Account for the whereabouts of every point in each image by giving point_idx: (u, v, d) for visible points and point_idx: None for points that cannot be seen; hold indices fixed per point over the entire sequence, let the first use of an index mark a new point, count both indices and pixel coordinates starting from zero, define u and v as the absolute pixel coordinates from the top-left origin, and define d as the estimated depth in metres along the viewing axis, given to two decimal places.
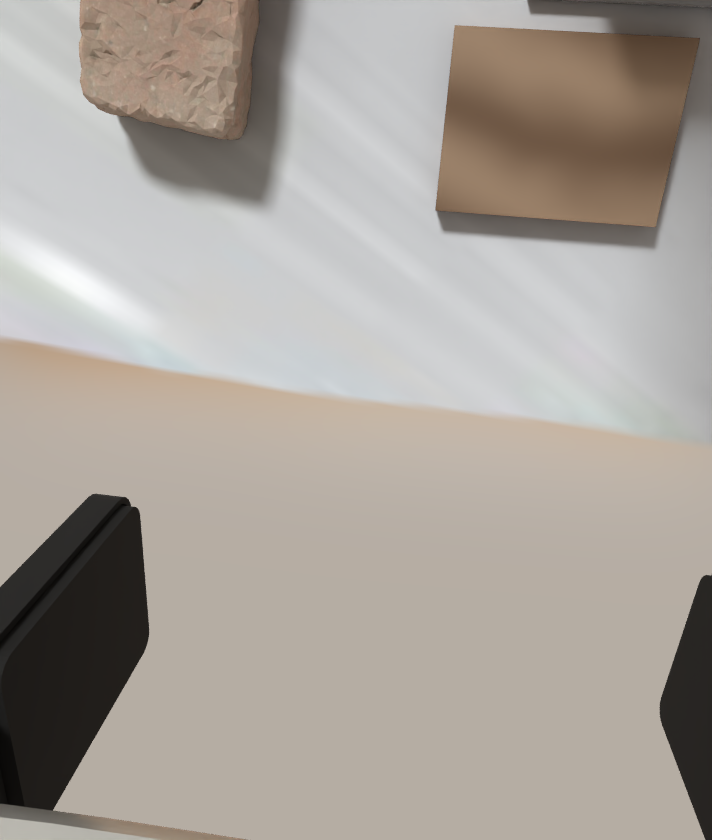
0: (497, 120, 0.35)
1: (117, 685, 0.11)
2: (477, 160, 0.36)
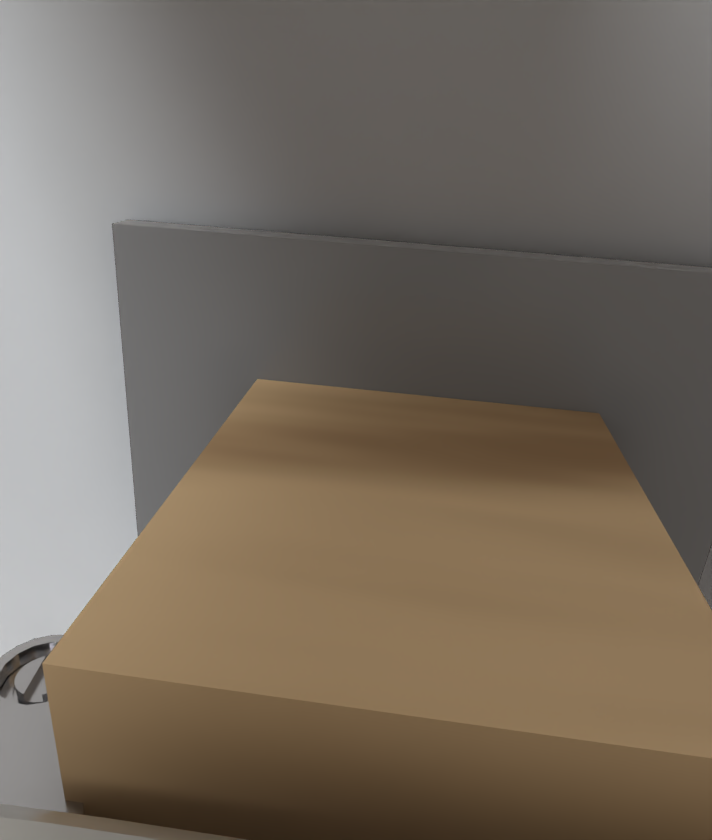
0: None
1: None
2: None
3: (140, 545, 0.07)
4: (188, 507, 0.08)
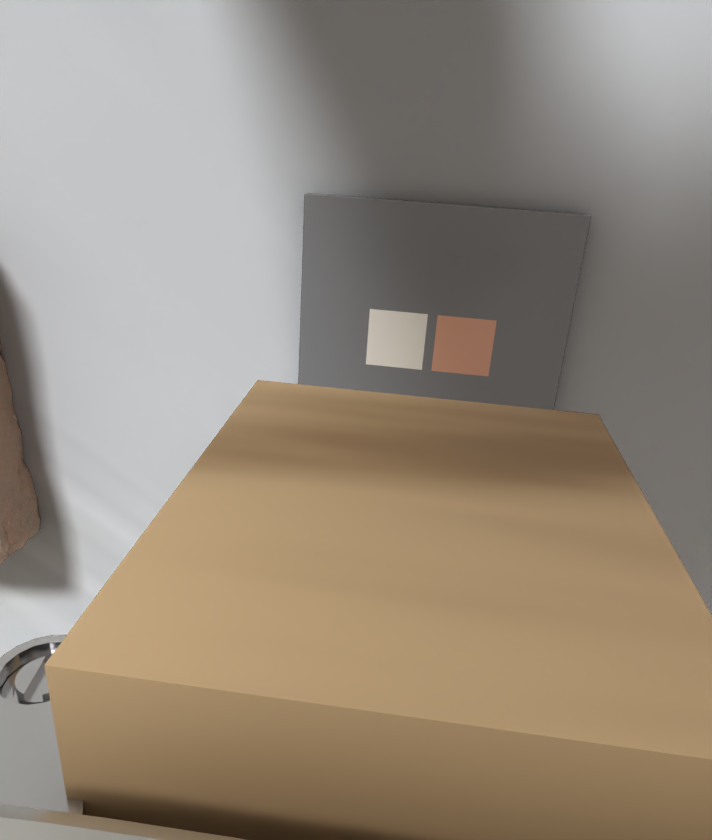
0: None
1: None
2: None
3: (141, 547, 0.07)
4: (189, 509, 0.08)
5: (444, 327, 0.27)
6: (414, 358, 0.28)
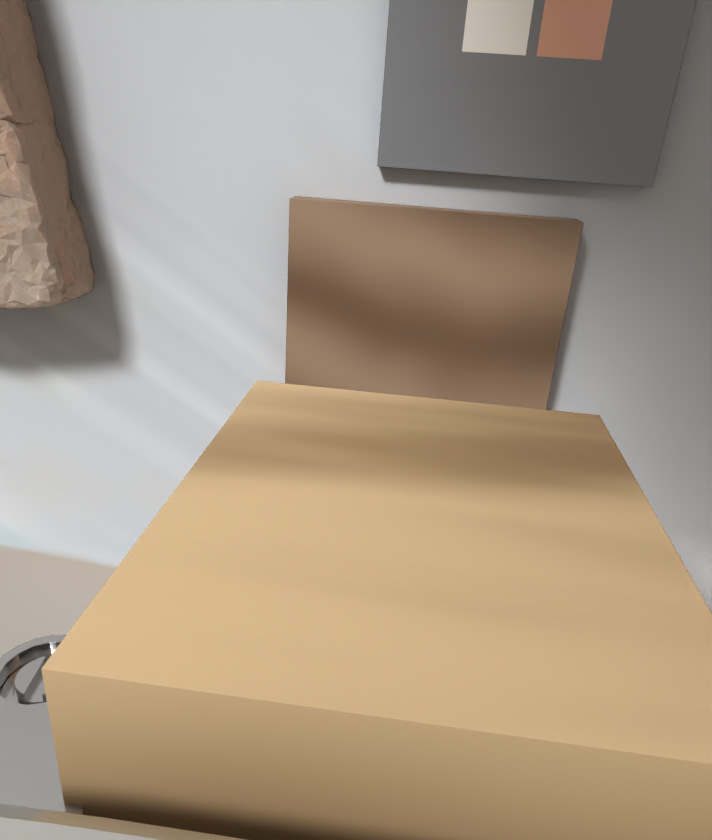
0: (348, 304, 0.29)
1: None
2: (329, 347, 0.30)
3: (139, 549, 0.07)
4: (188, 510, 0.08)
5: None
6: (518, 40, 0.25)
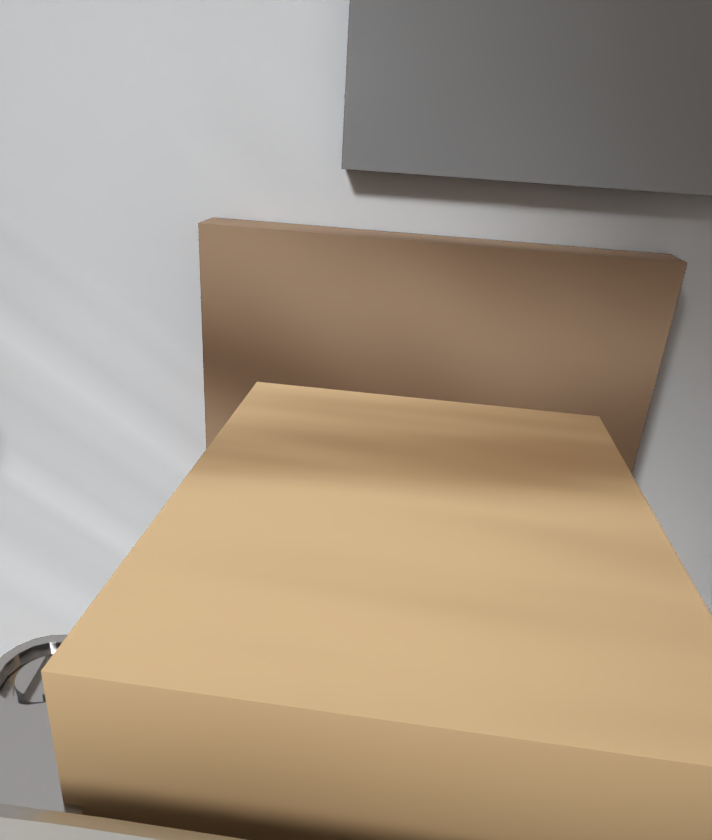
0: None
1: None
2: None
3: (139, 551, 0.07)
4: (187, 512, 0.08)
5: None
6: None
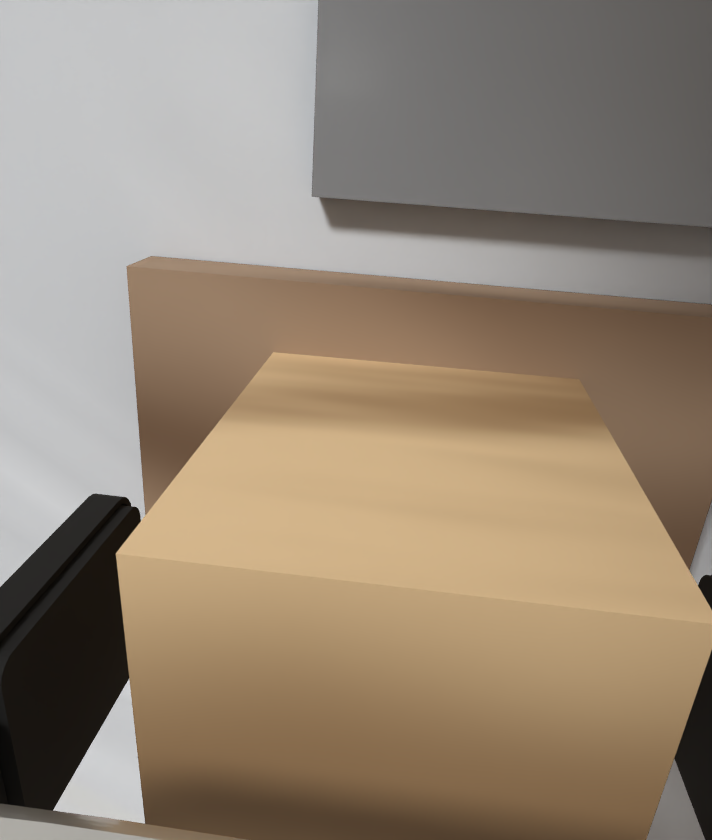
0: None
1: (117, 685, 0.11)
2: None
3: (184, 475, 0.08)
4: (221, 449, 0.09)
5: None
6: None
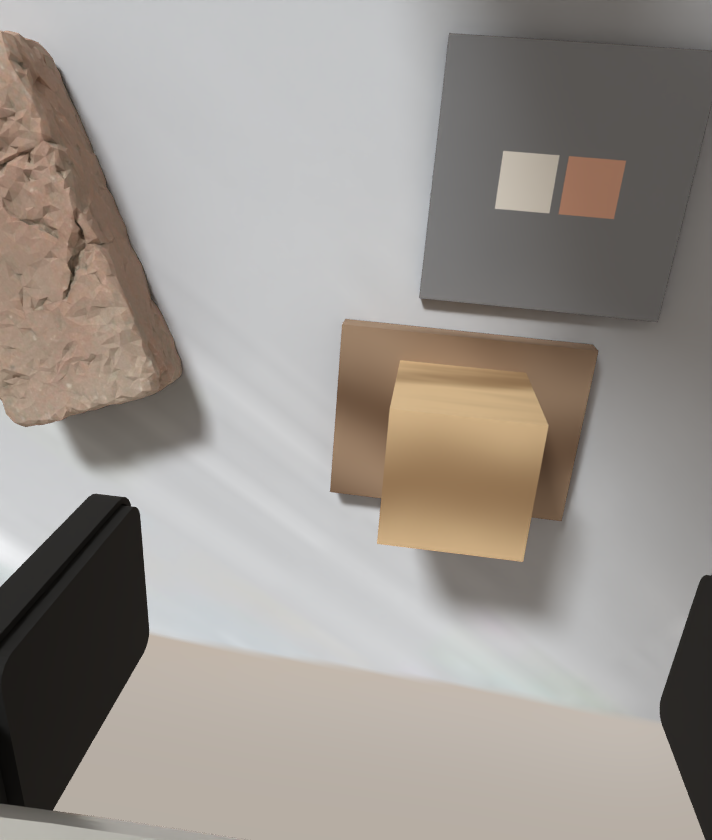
0: None
1: (117, 685, 0.11)
2: (372, 449, 0.34)
3: (395, 394, 0.27)
4: (401, 388, 0.28)
5: (574, 169, 0.28)
6: (543, 201, 0.29)
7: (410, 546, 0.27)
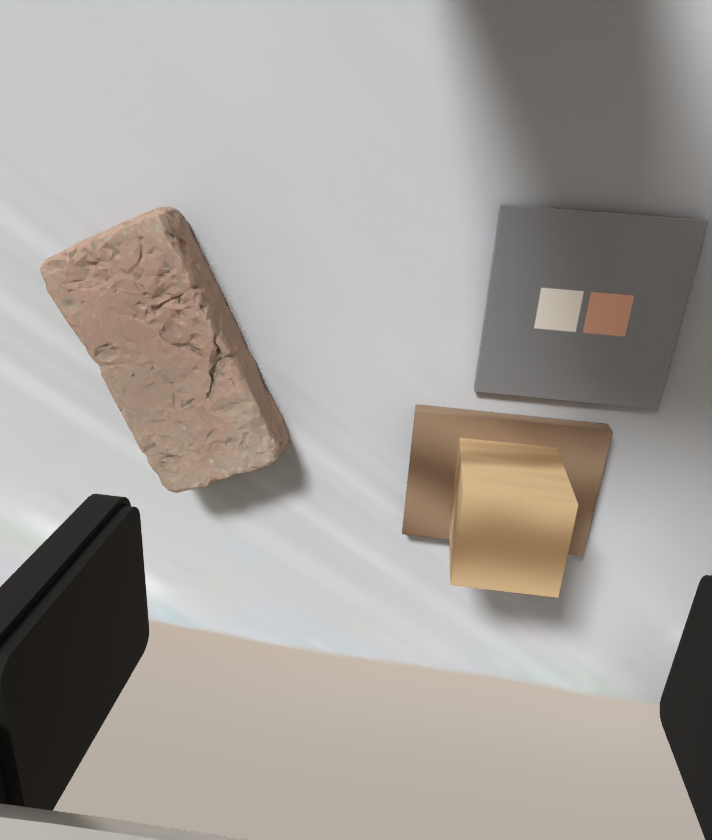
0: (451, 476, 0.42)
1: (117, 685, 0.11)
2: (436, 502, 0.43)
3: (463, 477, 0.37)
4: (467, 470, 0.37)
5: (595, 301, 0.38)
6: (571, 323, 0.38)
7: (475, 586, 0.37)
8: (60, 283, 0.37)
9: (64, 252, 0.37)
